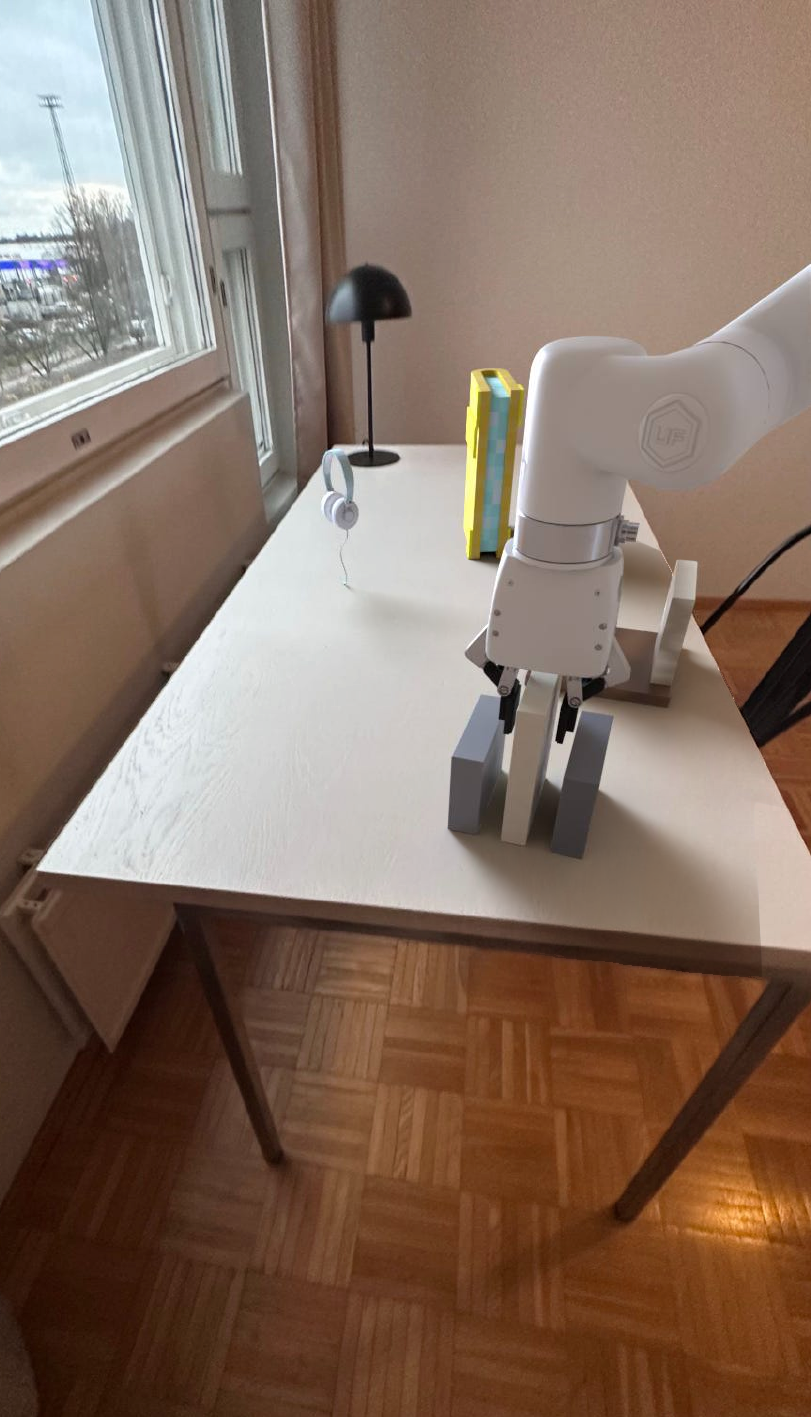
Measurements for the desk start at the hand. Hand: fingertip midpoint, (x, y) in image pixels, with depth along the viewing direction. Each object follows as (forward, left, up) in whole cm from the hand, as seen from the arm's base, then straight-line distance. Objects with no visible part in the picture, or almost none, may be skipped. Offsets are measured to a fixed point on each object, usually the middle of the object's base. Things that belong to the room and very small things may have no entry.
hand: (535, 729), depth 65 cm
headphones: (+38, -45, -10) cm, 60 cm away
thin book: (0, 0, -10) cm, 10 cm away
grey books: (0, 0, -10) cm, 10 cm away
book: (+21, -69, -10) cm, 73 cm away
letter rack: (-4, -31, -10) cm, 33 cm away
